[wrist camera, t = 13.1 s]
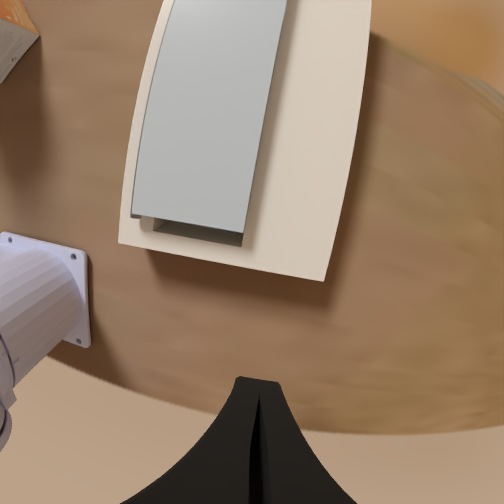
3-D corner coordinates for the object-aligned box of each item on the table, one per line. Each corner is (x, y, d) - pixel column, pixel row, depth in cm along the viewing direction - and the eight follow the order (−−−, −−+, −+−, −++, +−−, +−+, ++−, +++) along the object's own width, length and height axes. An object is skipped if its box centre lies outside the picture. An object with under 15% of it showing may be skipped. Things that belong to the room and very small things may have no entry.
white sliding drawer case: (315, 264, 19) (323, 281, 16) (139, 231, 19) (118, 242, 16) (361, -20, 13) (373, -42, 10) (199, -42, 13) (190, -65, 10)
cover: (243, 234, 15) (241, 239, 14) (132, 215, 15) (125, 218, 14) (296, -46, 11) (297, -54, 10) (196, -53, 11) (193, -61, 10)
